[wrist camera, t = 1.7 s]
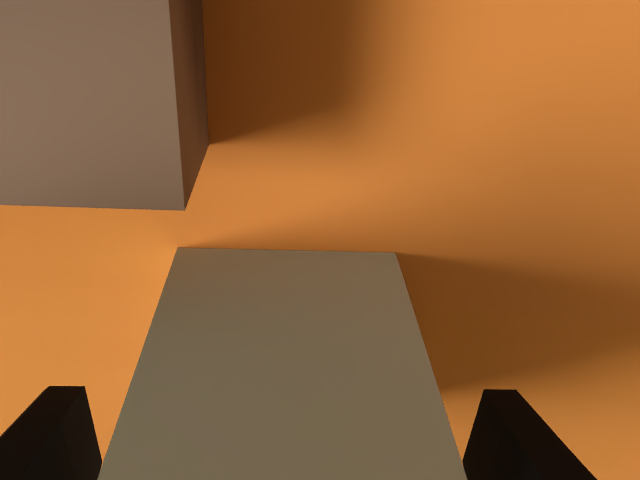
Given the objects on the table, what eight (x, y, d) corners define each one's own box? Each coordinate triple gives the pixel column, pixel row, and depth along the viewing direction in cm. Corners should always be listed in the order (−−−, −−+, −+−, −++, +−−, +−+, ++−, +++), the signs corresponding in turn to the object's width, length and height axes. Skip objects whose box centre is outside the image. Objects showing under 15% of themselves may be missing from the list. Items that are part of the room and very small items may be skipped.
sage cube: (372, 402, 14) (415, 659, 9) (191, 401, 13) (137, 668, 9) (395, 251, 11) (470, 490, 7) (177, 246, 11) (93, 492, 6)
